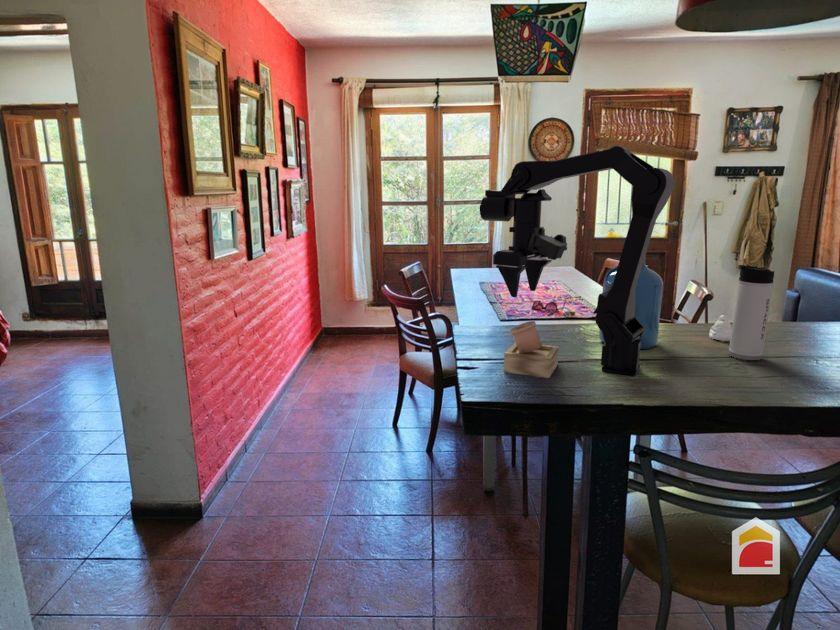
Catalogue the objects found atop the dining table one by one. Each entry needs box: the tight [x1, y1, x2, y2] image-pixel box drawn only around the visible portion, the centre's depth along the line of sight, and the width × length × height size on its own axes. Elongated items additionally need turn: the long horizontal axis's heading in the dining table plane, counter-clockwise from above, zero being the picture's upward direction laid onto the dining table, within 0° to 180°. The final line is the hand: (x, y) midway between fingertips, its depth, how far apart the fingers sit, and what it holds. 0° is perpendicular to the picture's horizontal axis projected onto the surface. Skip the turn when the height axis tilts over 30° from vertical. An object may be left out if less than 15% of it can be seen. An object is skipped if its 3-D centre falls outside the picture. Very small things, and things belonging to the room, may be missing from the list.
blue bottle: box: [598, 220, 664, 350], centre depth 124 cm, size 14×13×30 cm
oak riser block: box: [503, 342, 560, 379], centre depth 109 cm, size 9×9×4 cm
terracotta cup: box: [509, 320, 544, 354], centre depth 108 cm, size 5×5×5 cm
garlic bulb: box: [708, 314, 732, 341], centre depth 130 cm, size 6×6×5 cm
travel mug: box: [728, 264, 775, 361], centre depth 114 cm, size 6×7×20 cm
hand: (523, 293), depth 118 cm, fingers open, 9 cm apart
